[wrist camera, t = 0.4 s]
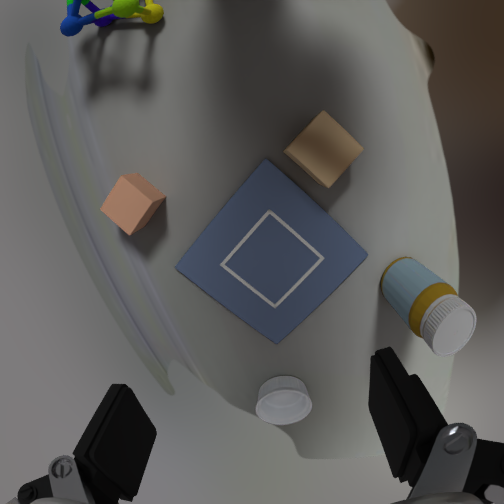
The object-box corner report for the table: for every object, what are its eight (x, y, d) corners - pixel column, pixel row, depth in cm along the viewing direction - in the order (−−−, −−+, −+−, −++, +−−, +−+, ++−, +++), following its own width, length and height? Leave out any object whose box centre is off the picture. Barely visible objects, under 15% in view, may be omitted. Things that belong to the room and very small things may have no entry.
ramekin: (317, 394, 44) (321, 412, 40) (273, 413, 46) (273, 431, 42) (293, 363, 42) (295, 382, 38) (245, 385, 44) (244, 404, 40)
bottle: (405, 306, 39) (454, 364, 25) (370, 291, 38) (416, 353, 24) (427, 266, 37) (488, 312, 23) (393, 247, 36) (454, 293, 22)
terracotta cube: (138, 173, 34) (121, 175, 29) (166, 196, 35) (152, 202, 30) (118, 203, 35) (100, 209, 31) (145, 226, 36) (129, 235, 32)
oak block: (314, 116, 32) (323, 109, 27) (350, 150, 33) (364, 148, 28) (282, 151, 33) (286, 149, 28) (319, 184, 34) (328, 188, 30)
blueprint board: (265, 158, 33) (265, 158, 33) (366, 253, 37) (369, 254, 36) (175, 265, 38) (174, 267, 37) (276, 342, 41) (276, 345, 40)
